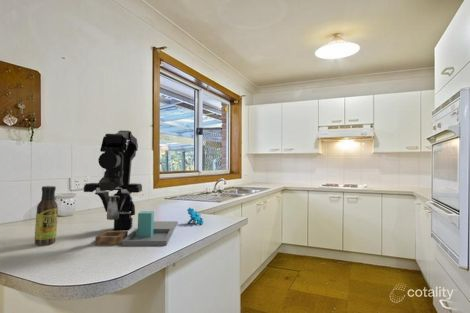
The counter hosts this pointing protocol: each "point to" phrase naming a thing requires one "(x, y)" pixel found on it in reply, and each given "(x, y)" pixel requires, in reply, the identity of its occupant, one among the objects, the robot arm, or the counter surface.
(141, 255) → the counter surface
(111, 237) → the square wooden tray
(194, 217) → the blue toy frog
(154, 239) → the case
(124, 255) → the counter surface
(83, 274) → the counter surface
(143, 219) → the block
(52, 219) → the sauce bottle
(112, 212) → the silver metal cylinder
